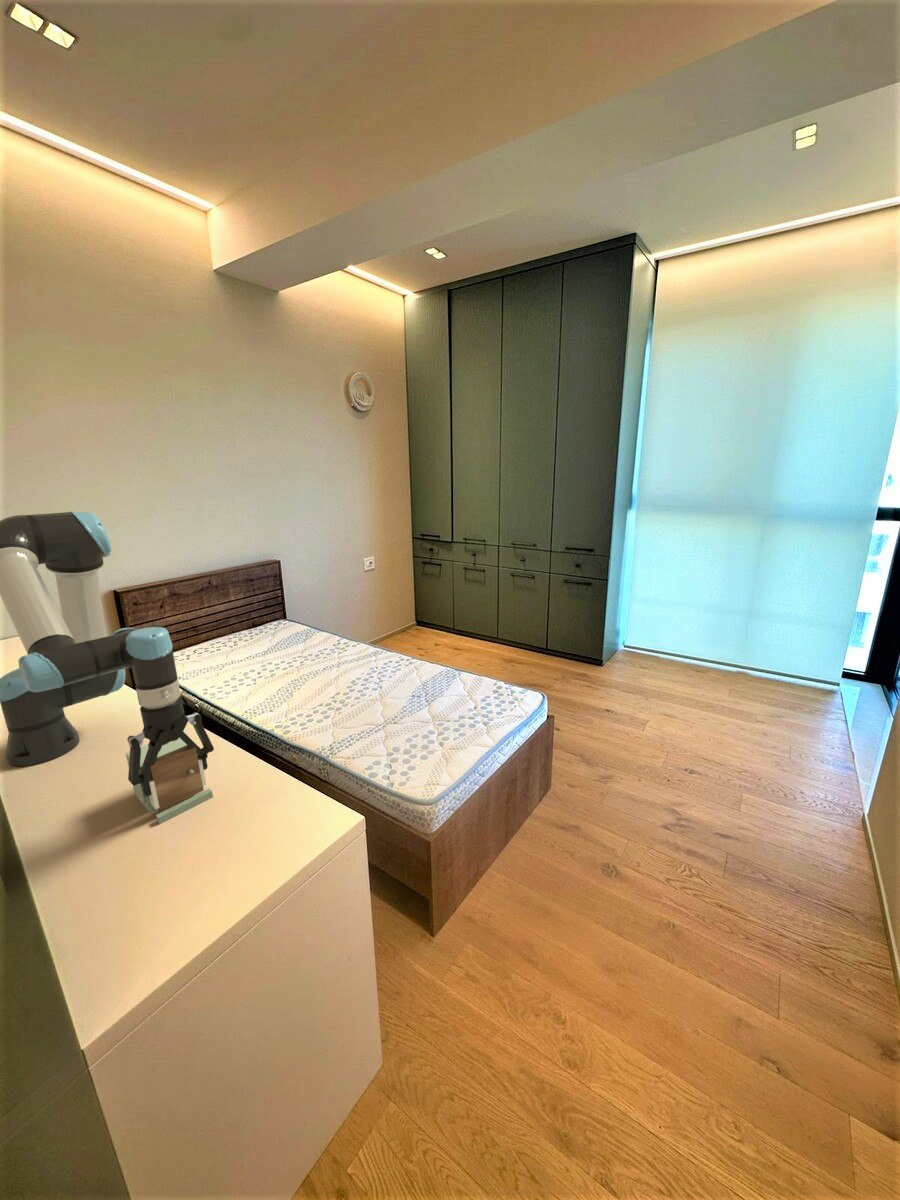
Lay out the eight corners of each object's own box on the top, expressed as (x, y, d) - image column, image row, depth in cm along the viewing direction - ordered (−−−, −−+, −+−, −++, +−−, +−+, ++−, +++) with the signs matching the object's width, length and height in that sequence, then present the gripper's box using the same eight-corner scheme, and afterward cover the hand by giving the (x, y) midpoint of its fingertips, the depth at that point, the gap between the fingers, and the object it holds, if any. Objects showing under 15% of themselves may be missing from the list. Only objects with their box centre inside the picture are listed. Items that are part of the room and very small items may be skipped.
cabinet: (131, 796, 107) (121, 754, 104) (185, 772, 116) (178, 732, 113) (155, 826, 97) (145, 780, 95) (213, 796, 106) (205, 753, 103)
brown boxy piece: (155, 806, 101) (146, 762, 98) (199, 785, 108) (191, 743, 105) (161, 813, 99) (152, 768, 96) (205, 792, 106) (197, 748, 103)
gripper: (104, 728, 87) (128, 829, 93) (221, 687, 103) (235, 776, 109) (93, 716, 92) (116, 813, 98) (206, 679, 108) (221, 765, 114)
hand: (179, 794), depth 104 cm, fingers closed on brown boxy piece, 9 cm apart
